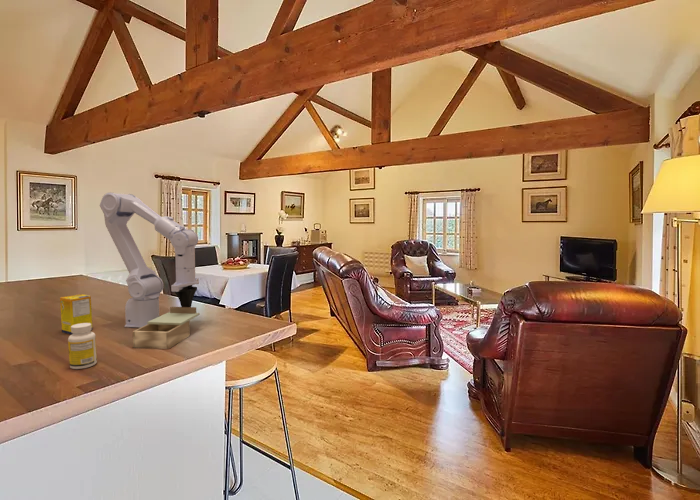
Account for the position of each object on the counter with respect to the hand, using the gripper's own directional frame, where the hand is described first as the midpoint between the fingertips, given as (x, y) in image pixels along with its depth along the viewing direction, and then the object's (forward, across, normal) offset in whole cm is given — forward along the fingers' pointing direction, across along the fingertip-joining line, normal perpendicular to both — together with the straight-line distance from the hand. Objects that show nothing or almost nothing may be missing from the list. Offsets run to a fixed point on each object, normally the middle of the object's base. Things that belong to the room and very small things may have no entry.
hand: (186, 309), depth 125 cm
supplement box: (+6, -7, +31) cm, 32 cm away
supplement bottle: (+6, -33, +9) cm, 35 cm away
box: (+6, -14, 0) cm, 15 cm away
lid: (+1, -7, 0) cm, 7 cm away
